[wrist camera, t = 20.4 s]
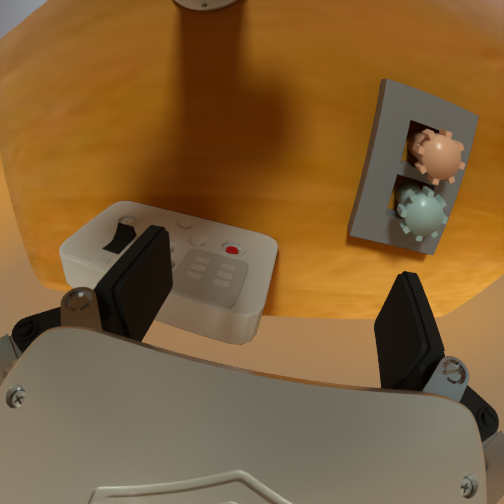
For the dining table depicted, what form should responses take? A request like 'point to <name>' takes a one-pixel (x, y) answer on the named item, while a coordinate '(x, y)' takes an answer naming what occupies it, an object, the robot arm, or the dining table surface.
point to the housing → (404, 163)
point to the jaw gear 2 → (419, 209)
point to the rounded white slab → (184, 267)
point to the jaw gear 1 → (436, 154)
